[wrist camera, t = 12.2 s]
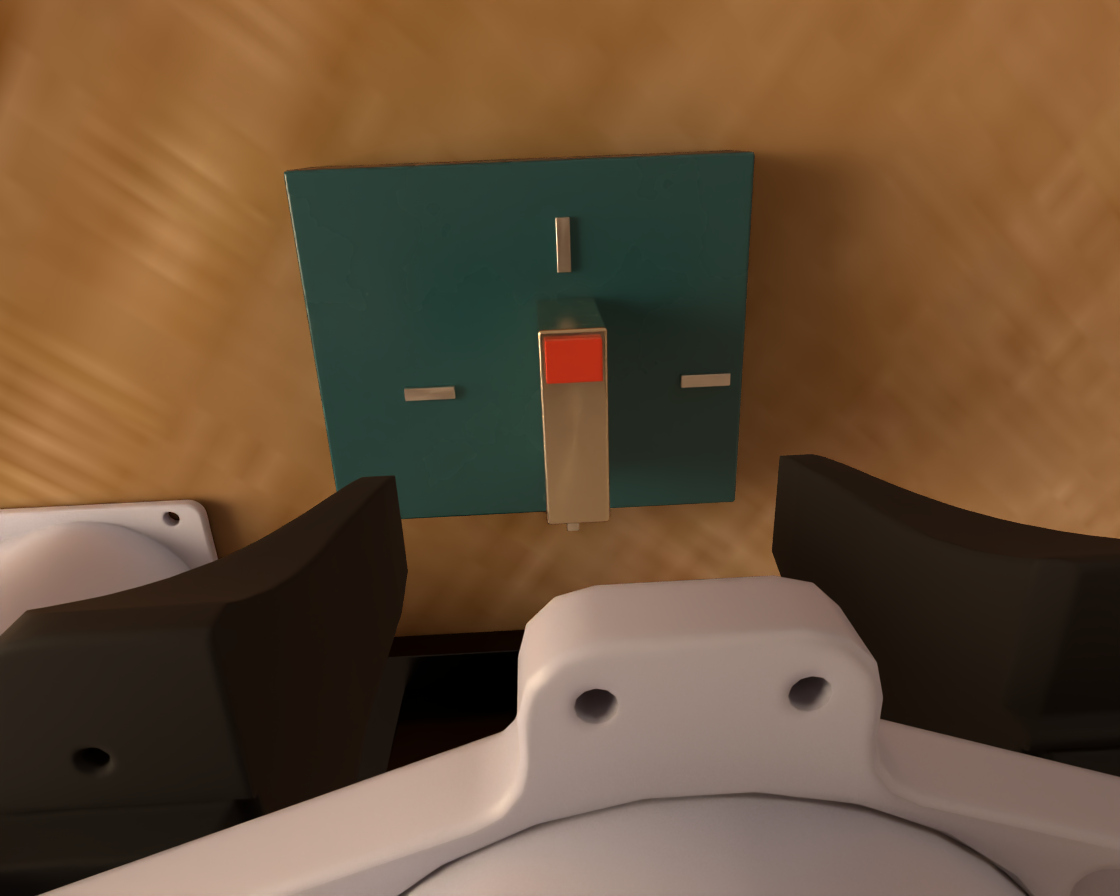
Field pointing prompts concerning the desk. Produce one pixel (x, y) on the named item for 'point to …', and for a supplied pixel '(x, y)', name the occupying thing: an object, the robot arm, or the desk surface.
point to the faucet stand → (440, 697)
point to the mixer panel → (525, 319)
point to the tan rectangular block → (574, 409)
